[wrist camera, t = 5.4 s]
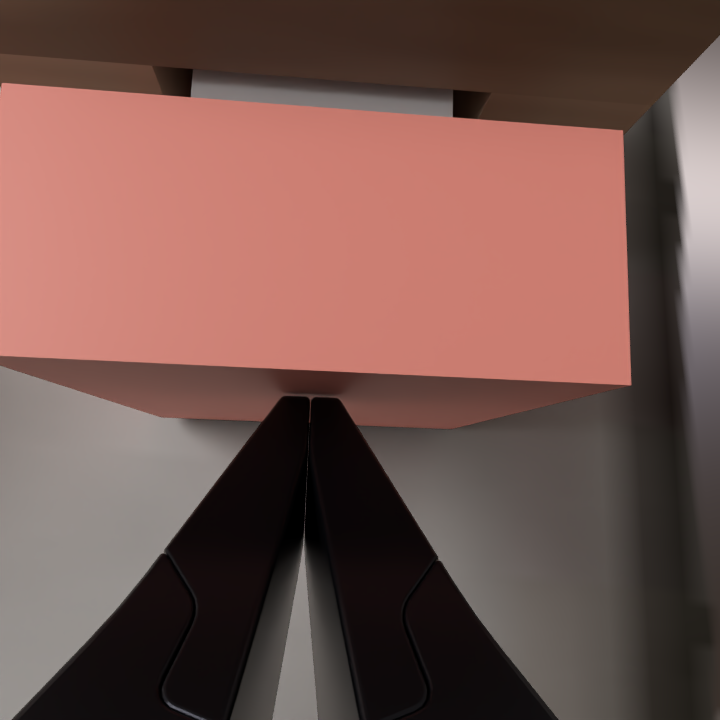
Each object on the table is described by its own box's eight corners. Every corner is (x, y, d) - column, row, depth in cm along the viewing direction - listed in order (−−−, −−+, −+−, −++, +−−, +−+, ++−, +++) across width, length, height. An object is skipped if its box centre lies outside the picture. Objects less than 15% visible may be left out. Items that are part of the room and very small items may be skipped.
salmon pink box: (451, 429, 16) (631, 385, 7) (161, 417, 15) (-36, 354, 7) (455, 92, 17) (608, -293, 9) (190, 71, 17) (63, -362, 8)
